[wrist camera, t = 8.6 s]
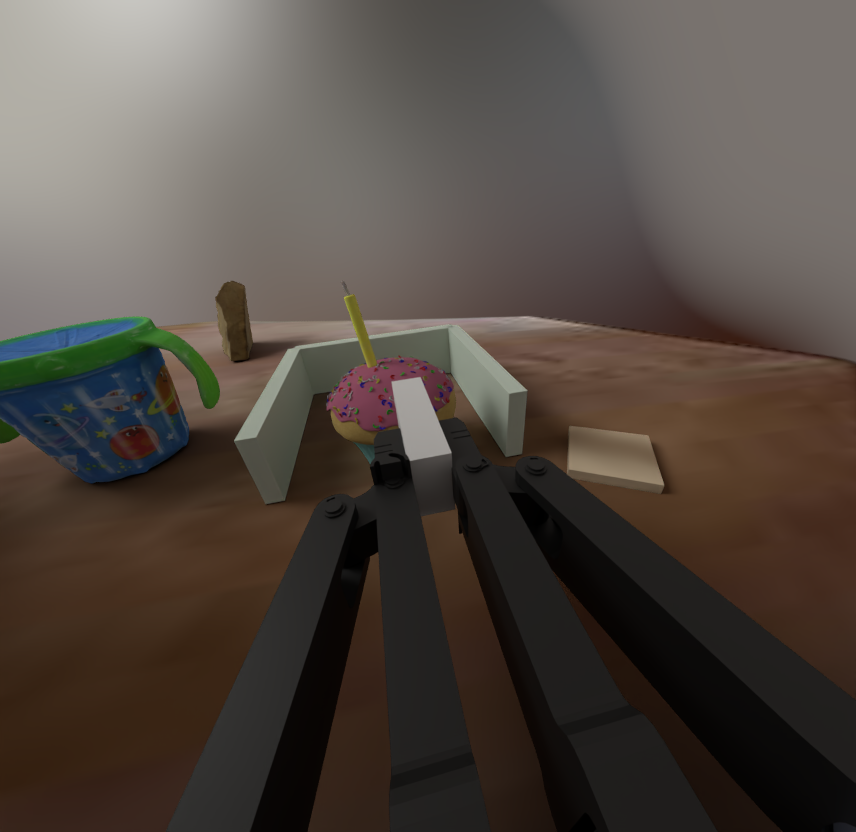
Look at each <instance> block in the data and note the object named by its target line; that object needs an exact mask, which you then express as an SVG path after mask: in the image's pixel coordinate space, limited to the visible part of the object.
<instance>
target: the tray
mask: <svg viewBox="0 0 856 832" xmlns="http://www.w3.org/2000/svg"><path fill="white" fill-rule="evenodd" d="M368 337H369V340H370V343H371V346H372V349H373V352H374V355H375V358H376V360H380V359H384V358H397V357H398V355H399V356H401V357H410V356H411V357H410V358H412V357H413V358H416V359H419V360H421V361H427V362H428V363H430V364H432V365H433V366H437V367H439V368H438V369H441V370H444V371H445V373H450V372H451V374H452V375H453V377H454V378H455V380H456V381H457V383H458V385H459V386H460V388H461V389H462V391H463V392H464V394H465V395H466V397H467V398H468V400H469V401H470V403H471V404H472V406H473V408H474V409H475V411H476V412H477V414H478V415H479V417H480V418H481V420H482V421H483V423H484V424H485V426H486V427H487V429H488V431H489V432H490V434H491V435H492V437H493V438H494V440H495V441H496V443H497V444H498V446H499V447H500V449H501V450H502V452H503V454H504V455H505V457H509V456H514V455H519V454H522V449H523V437H524V425H525V413H526V402H527V390H526V389H525V388H524V387H523V386H522V385H521V384H520V383H519V382H518V381H517V380H516V379H515V378H514V377H512V376H511V375H510V374H509V373H508V372H507V371H506V370H505V369H504V368H503V367H502V366H501V365H500V364H499V363H498V362H497V361H496V360H494V359H493V358H492V357H491V356H490V355H489V354H488V353H487V352H486V351H485V350H484V349H483V348H482V347H481V346H480V345H479V344H478V343H476V342H475V341H474V340H473V339H472V338H471V337H470V336H469V335H468V334H467V333H466V332H465V331H464V330H463V329H462V328H461V327H460V326H459V325H453V326H452V325H451V324H449V325H442V326H435V327H428V328H421V329H414V330H407V331H400V332H393V333H385V334H378V335H371V336H368ZM364 363H366V360H365V358H364V355H363V352H362V349H361V346H360V343H359V340H358V337H357V338H350V339H343V340H336V341H329V342H322V343H315V344H308V345H301V346H295V348H292V349H288V350H287V352H286V354H285V355H284V357H283V359H282V360H281V362H280V364H279V366H278V367H277V369H276V371H275V372H274V374H273V376H272V377H271V379H270V381H269V382H268V384H267V386H266V388H265V389H264V391H263V393H262V394H261V396H260V398H259V399H258V401H257V403H256V405H255V406H254V408H253V410H252V411H251V413H250V415H249V416H248V418H247V420H246V421H245V423H244V425H243V427H242V428H241V430H240V432H239V433H238V435H237V437H236V438H235V440H234V442H235V444H236V446H237V448H238V450H239V452H240V454H241V456H242V458H243V460H244V462H245V464H246V466H247V468H248V470H249V472H250V474H251V476H252V478H253V480H254V482H255V484H256V486H257V488H258V490H259V492H260V494H261V496H262V498H263V500H264V502H265V504H270V503H275V502H280V501H285V498H286V495H287V491H288V487H289V484H290V480H291V476H292V473H293V469H294V465H295V461H296V458H297V454H298V450H299V447H300V443H301V439H302V436H303V432H304V428H305V425H306V421H307V417H308V413H309V410H310V406H311V402H312V399H313V395H314V394H319V393H325V392H332V390H333V389H334V386H335V385H336V384H337V383H338V382H339V381H340V380H341V376H344V375H345V374H347V373H348V372H349V371H351V370H350V369H355V368H354V367H356V366H359V365H360V364H364ZM361 366H362V365H361ZM342 379H343V377H342ZM335 388H336V387H335Z"/></svg>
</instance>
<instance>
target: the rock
mask: <svg viewBox="0 0 856 832" xmlns="http://www.w3.org/2000/svg"><path fill="white" fill-rule="evenodd" d="M215 300H216V308H217V311H218V315H217V316H218V328H219V331H220V334H221V335H222V338H223V341H222V347H223V349H224V350H223V351H224V353H225V354H226V355H228V357H230V360H231V361H236V360H245V359H248V358H249V353H250V350H251V348H252V344H253V340H252V333H251V329H250V322H249V314H248V308H247V300H246V293H245V286H244V285H242V284H240V283H237V282H234V281H231V282H227V283H224V284H223V286H222V287H221V290H220V291H219V293H218V295H217V296H216V297H215Z"/></svg>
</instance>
